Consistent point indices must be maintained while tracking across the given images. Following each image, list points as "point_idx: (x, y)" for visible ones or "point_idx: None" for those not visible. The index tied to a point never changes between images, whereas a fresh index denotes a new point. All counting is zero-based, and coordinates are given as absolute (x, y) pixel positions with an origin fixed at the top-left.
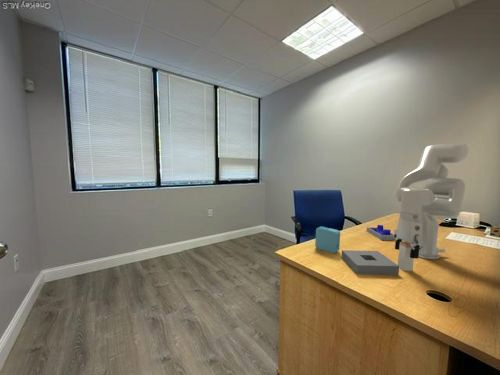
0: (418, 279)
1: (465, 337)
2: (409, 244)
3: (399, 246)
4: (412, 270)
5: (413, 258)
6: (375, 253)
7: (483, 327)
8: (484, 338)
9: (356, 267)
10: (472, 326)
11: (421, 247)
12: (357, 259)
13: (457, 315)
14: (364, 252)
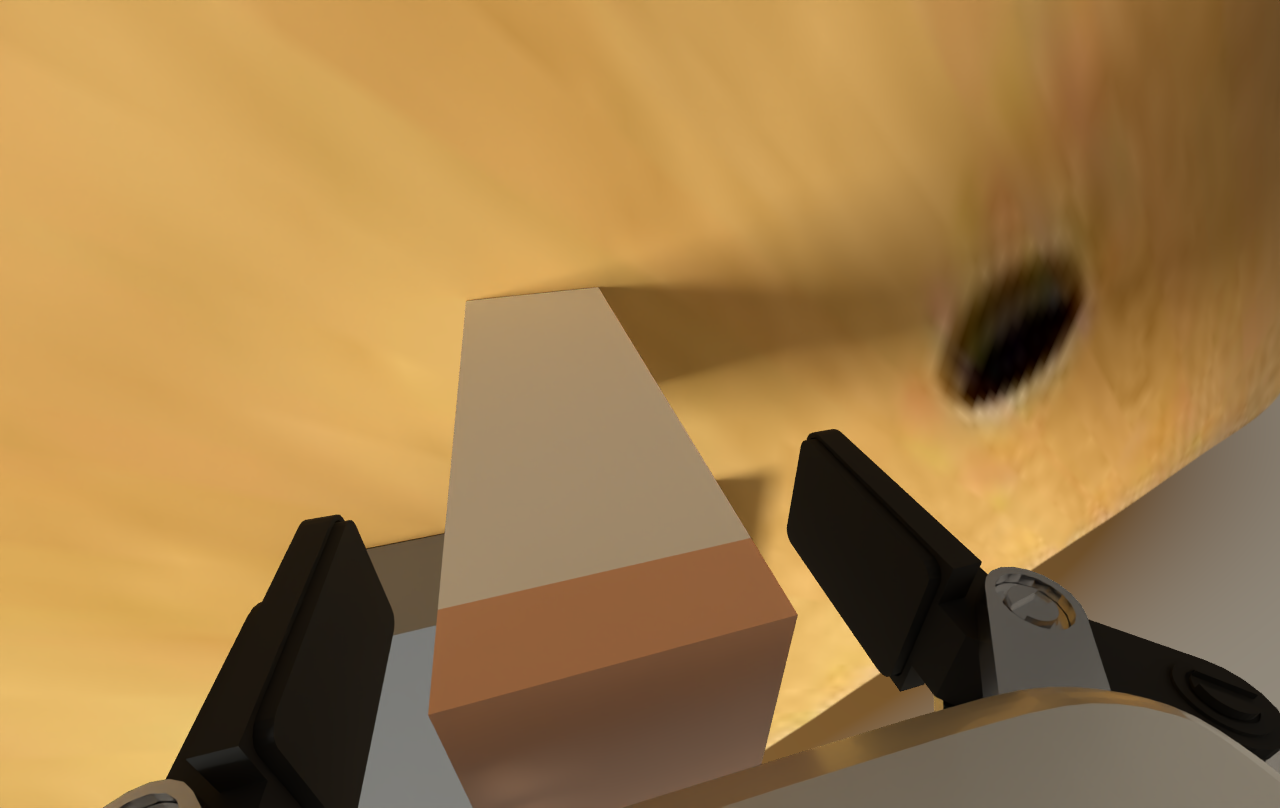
0: (792, 343)
1: (1205, 431)
2: (728, 722)
3: (359, 640)
4: (598, 290)
5: (646, 375)
6: (387, 694)
7: (1255, 296)
8: (1260, 358)
9: None
10: (1217, 349)
11: (1205, 680)
12: None
13: (1152, 362)
14: (396, 768)
